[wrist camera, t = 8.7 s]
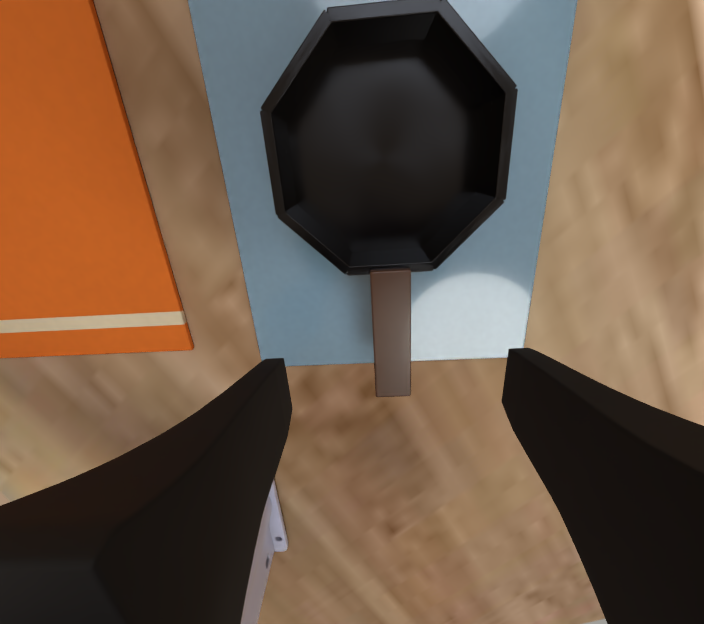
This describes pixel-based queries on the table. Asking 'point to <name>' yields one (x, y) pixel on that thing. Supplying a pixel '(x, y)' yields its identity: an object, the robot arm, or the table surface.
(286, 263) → the trivet
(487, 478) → the table surface
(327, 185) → the skillet
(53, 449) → the table surface
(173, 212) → the table surface
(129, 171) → the tea towel
